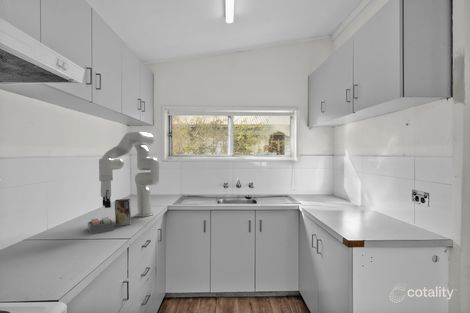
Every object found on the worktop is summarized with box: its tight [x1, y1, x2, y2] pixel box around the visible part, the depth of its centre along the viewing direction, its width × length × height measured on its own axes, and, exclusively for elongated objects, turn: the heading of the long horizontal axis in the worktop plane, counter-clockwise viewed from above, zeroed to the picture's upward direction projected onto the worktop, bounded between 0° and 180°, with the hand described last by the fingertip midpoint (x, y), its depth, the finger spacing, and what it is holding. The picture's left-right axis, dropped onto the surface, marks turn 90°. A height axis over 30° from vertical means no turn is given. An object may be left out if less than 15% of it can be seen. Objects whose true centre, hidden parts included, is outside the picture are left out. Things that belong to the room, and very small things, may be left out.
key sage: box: [103, 218, 111, 224], centre depth 189 cm, size 4×4×4 cm
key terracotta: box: [92, 219, 100, 225], centre depth 186 cm, size 4×4×4 cm
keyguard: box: [87, 218, 115, 234], centre depth 190 cm, size 13×13×4 cm
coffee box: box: [114, 198, 132, 227], centre depth 203 cm, size 9×6×16 cm
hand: (106, 206), depth 189 cm, fingers open, 9 cm apart
